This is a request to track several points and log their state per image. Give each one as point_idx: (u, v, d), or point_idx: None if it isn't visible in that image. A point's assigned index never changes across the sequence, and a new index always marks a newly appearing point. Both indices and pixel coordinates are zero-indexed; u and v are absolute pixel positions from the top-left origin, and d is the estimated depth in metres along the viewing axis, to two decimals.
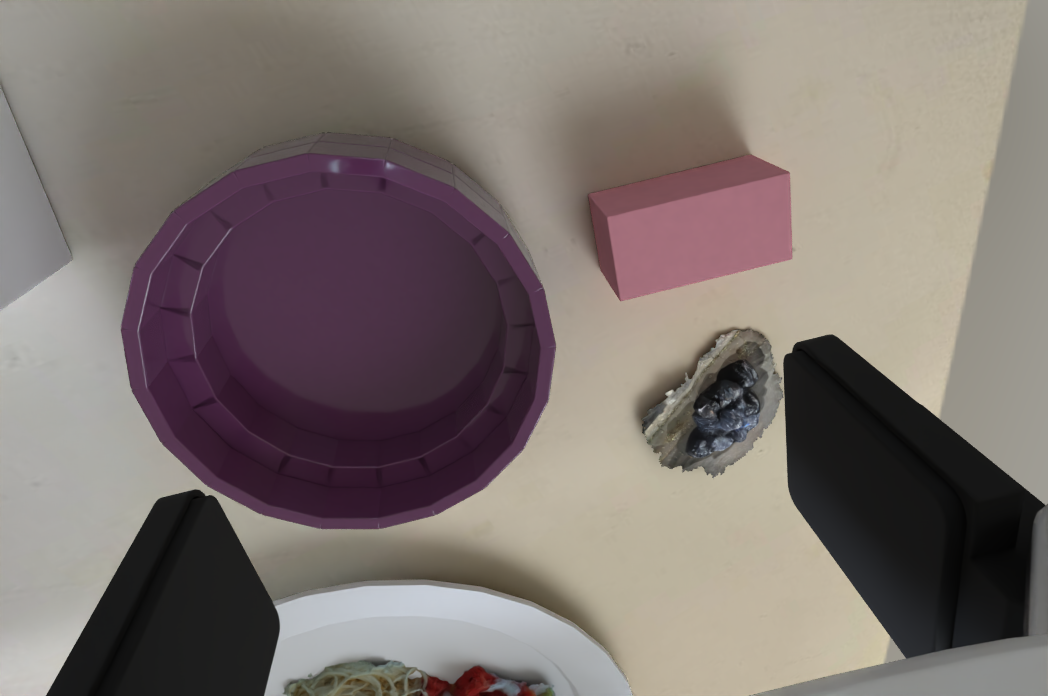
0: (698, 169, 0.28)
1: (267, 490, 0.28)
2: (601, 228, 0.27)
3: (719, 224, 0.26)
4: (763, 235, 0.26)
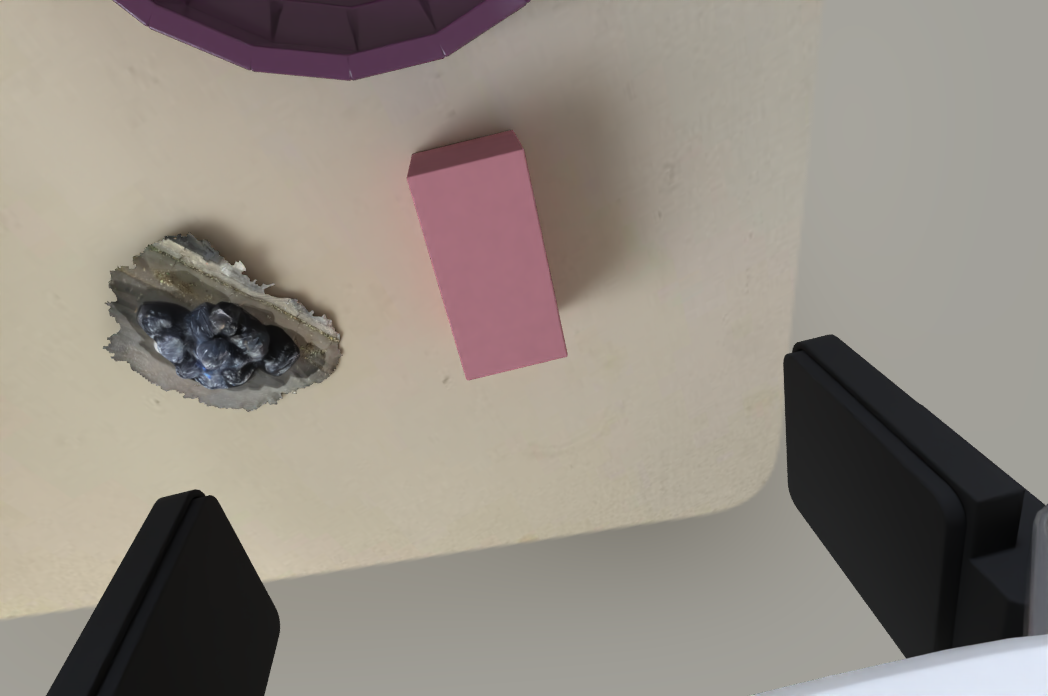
0: None
1: None
2: (490, 146, 0.21)
3: (510, 291, 0.22)
4: (496, 343, 0.22)
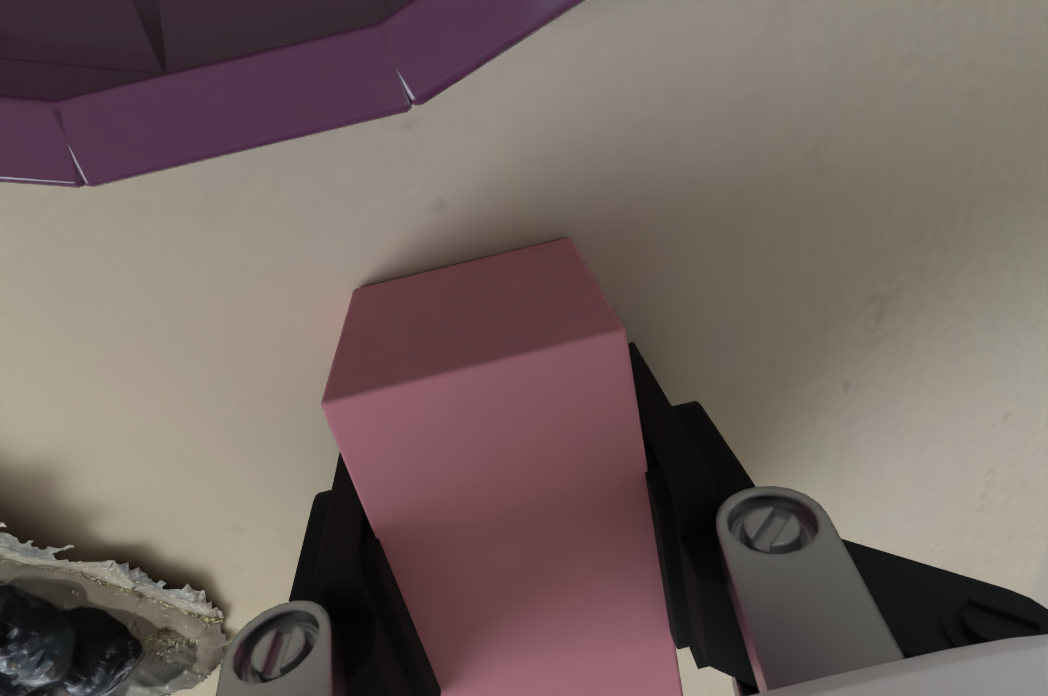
0: None
1: None
2: (531, 298, 0.09)
3: (572, 618, 0.09)
4: None
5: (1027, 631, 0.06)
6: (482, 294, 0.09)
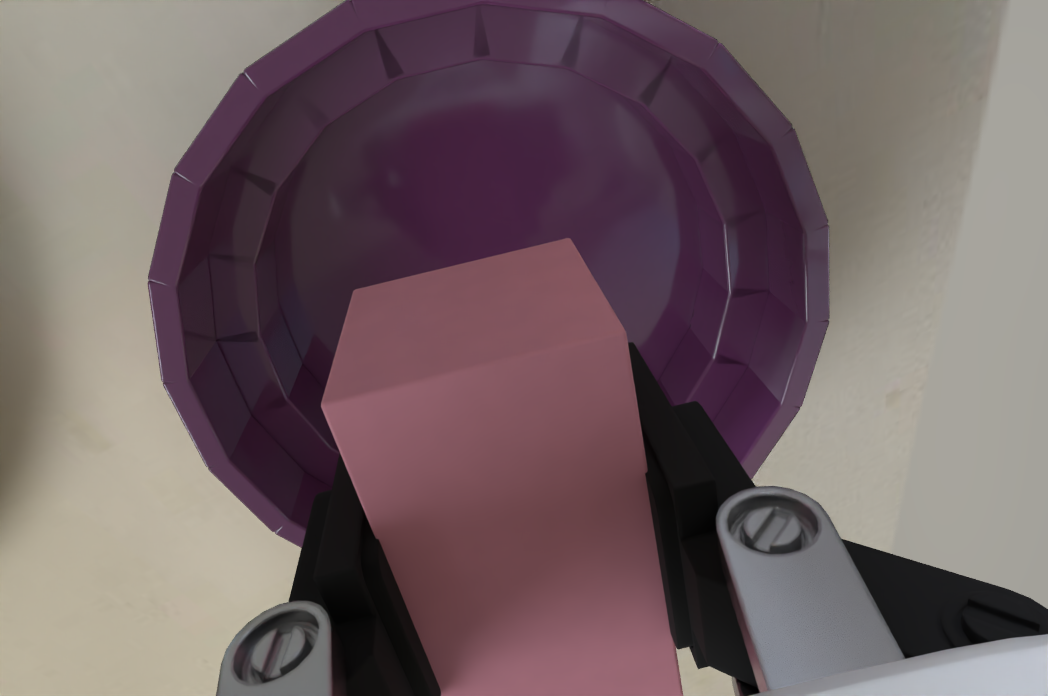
0: None
1: (218, 173, 0.14)
2: (531, 298, 0.09)
3: (572, 619, 0.09)
4: None
5: (1029, 632, 0.06)
6: (482, 295, 0.09)
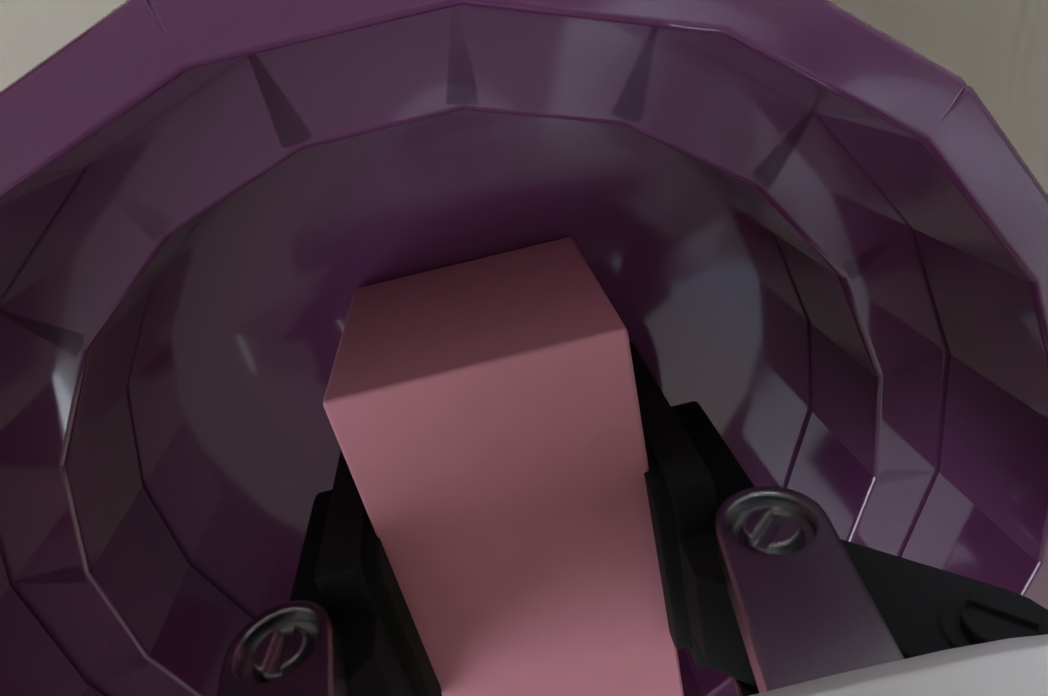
0: None
1: None
2: (532, 297, 0.09)
3: (573, 618, 0.09)
4: None
5: (1027, 631, 0.06)
6: (483, 294, 0.09)
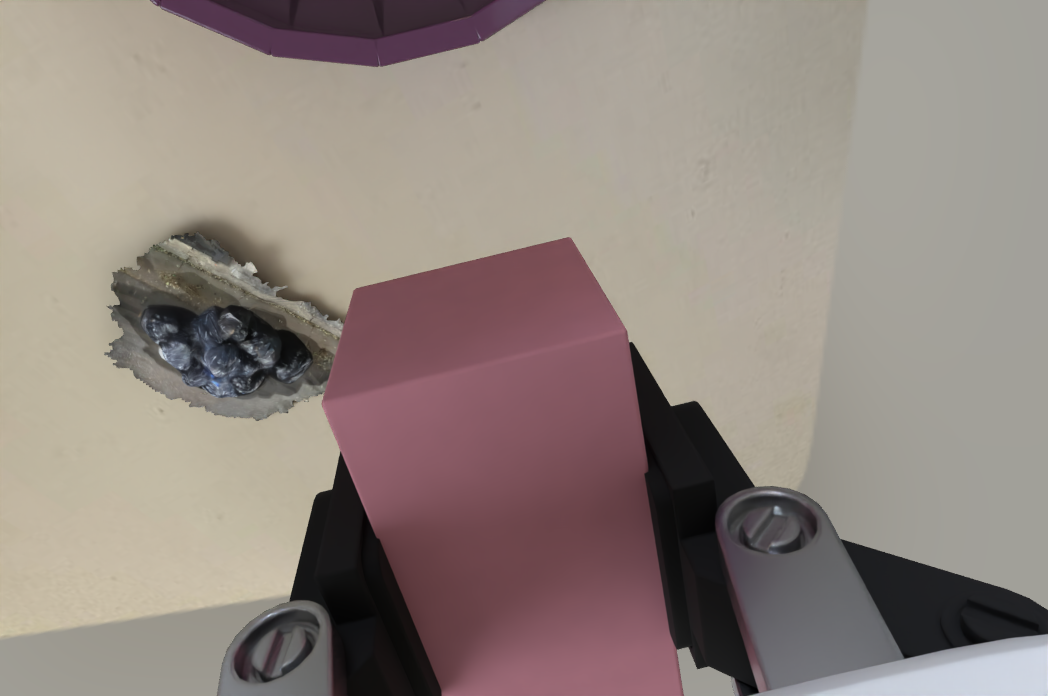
0: None
1: None
2: (532, 297, 0.09)
3: (573, 618, 0.09)
4: None
5: (1026, 631, 0.06)
6: (483, 294, 0.09)
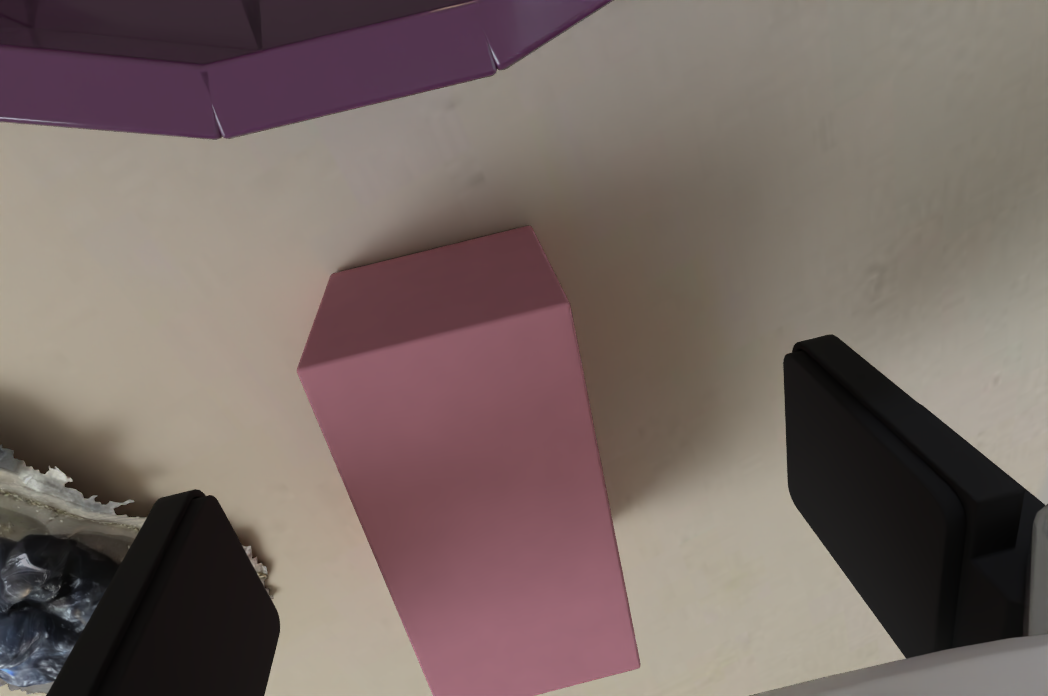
0: None
1: None
2: (490, 278, 0.10)
3: (531, 572, 0.10)
4: (503, 658, 0.11)
5: None
6: (447, 275, 0.10)
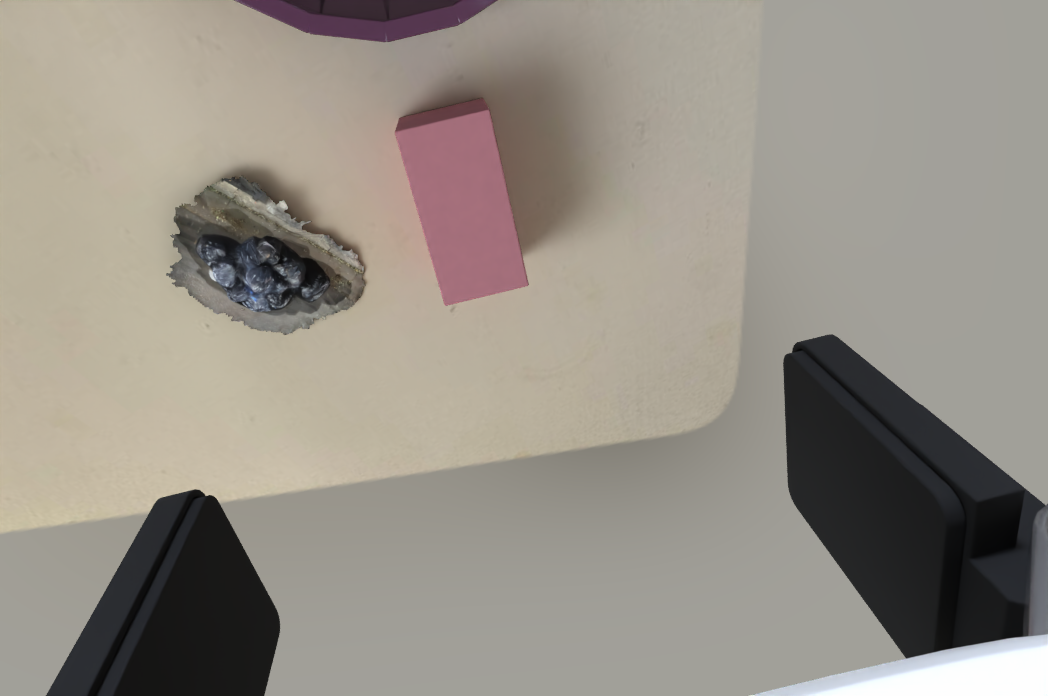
0: None
1: None
2: (463, 109, 0.26)
3: (479, 228, 0.26)
4: (469, 273, 0.27)
5: None
6: (447, 111, 0.26)
